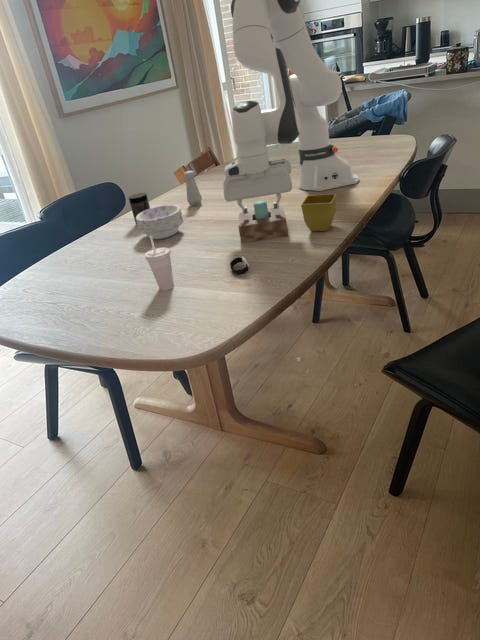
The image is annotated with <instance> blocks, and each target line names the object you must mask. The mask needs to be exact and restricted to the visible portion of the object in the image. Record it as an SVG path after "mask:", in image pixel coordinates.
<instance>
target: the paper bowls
mask: <svg viewBox="0 0 480 640" xmlns="http://www.w3.org/2000/svg"><path fill="white" fill-rule="evenodd" d="M136 222H137V225H136V226H137V228H138V231H139V233H140V234H143V235H146V236H147V237H148V238H149V239H150V237H149V236H152V239H153V240H162V239H167V238H169V237H172V236H174V235H175V234H177V233H178V232H179V228H180V226H181V225H182V224H183V223H184V217H183V212H182V208H181V207H180V206H179V205H176V204H165V205H159V206H155V207H150V209H147V210H145V211H143V212H141V213H139V214H138V215H137V216H136Z"/></svg>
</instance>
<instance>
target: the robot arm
mask: <svg viewBox="0 0 480 640" xmlns="http://www.w3.org/2000/svg"><path fill="white" fill-rule="evenodd" d="M300 2H301V0H231V3H230V13H231V17H232V43H233V51H234V56H235V58H236V60H237V61H238V62H239V63H240V64H241V65H242V66H243V67H245V68H247V69H249V70H252V71H254V72H259V73H262V74H263V73H264V74H266V75H269V76H271V77H272V78H273V79H274V82H275V86H276V90H277V91H276V92H277V96H278V101H279V105H278V106H277V107H276V108H275V107H274V108H269V109H264V110H263V109H262V108H261V106H260V104H259V102H257V101H254V100H250V101H249V100H248V101H244V102H240V103H238V104H236V105H235V106H234V107H233V108H232V112H231V113H232V115H231V116H232V117H231V118H232V119H231V120H232V122H231V123H232V131H233V139H234V142H235V144H236V150H237V152H236V156H237V159H236V160H233V162H231V163H228V164H227V165H226V166H225V167H224V169H223V173H224V179H223V184H222V185H223V197H224V200H225V201H226V202H228V203H229V202H235V201H236V202H237V205H238V206H239V207H240V208H241V210H242V212H243V214H247V213H248V211H249V210H248V205H247V206H244V204H243V200H247V199H253V198H259V197H260V198H261V197H267V196H272V195H275V197H276V200H275V201H273V202H272V204H273V207H274V209H278V208H279V204H280V201H281V199H282V194H284V193H290V192H291V191H292V189H293V183H292V178H291V172H292V164H291V162H290V160H289V161H288V160H287V159H284V158H283V159H282V158H281V159H278V160H270V157H269V149H268V147H267V146H270V145H291V144H292V143H294V142H295V140H296V139H297V141H298V152H297V153H298V163H299V166H300V176H299V184H298V188H299V189H301V190H305V191H315V192H316V191H317V192H321V191H322V192H323V191H326V190H327V191H328V190H331V189H335V188H340V187H341V188H342V187H345V186H349V185H354V184H358V183H359V182H360V181H359V180H360V178H359V175H357V174H356V173H353V170H352V166H351V165H350V164H351V163H349V162H348V161H347V160H346V159H344V158H343V157H341V156H339V155H337V154H336V153H338V151H339V148H338V147H337V146H335V145H333V144H331V143H330V137H329V136H330V135H329V134H330V133H329V124H328V121H327V119H325V118H324V117H323V116H322V115H321V113H320V112H319V109H318V107H324V106H328V105H331V104H333V103H335V102H337V100H339V98H340V96H341V93H342V89H343V83H342V80H341V77H340V76H339V74H338V73H337V72H335V71H334V70H332V69H331V68H330V67H328V65H326V64H325V62H324V61H323V60H322V58H320V56H319V55H318V53H317V51H316V49H315V47H314V45H313V42H312V39H311V36H310V34H309V31H308V27H307V25H306V22H305V19H304V17H303V14H302V12H301V9H300V7H299V5H300ZM289 70H290V71H291V72H292V73H293V74H291V75H290V74H289ZM261 109H262V110H261Z"/></svg>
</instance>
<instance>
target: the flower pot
mask: <svg viewBox="0 0 480 640" xmlns="http://www.w3.org/2000/svg"><path fill="white" fill-rule="evenodd" d="M300 205H301V210H302V215H303V219H304V222H305V225H306V227H307V229H309V231H310V232H328V231H329V230H330V228H331V226H332V224H333V221H334V218H335V215H336V207H337V193H326V194H325V193H324V194H323V193H322V194H311V195H310V194H309V195H306V196H305V198H304V199H303V201H302V202H301V204H300Z"/></svg>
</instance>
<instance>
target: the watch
mask: <svg viewBox="0 0 480 640" xmlns="http://www.w3.org/2000/svg"><path fill="white" fill-rule="evenodd" d="M240 263H242V264H243V265H244V267H243V268H240V269H235V268H234V267H235V266H236V265H237V264H240ZM229 266H230V270H231V272H232V273H234V274H235V275H238V276H242V275H245V274H246V273H248V272H249V269H250V265H249V263H248V261H247V259H246V258H245V257H244V256H241V257H239V256H238V257H235V258H233V259H232V260H231V261H230V263H229Z"/></svg>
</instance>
